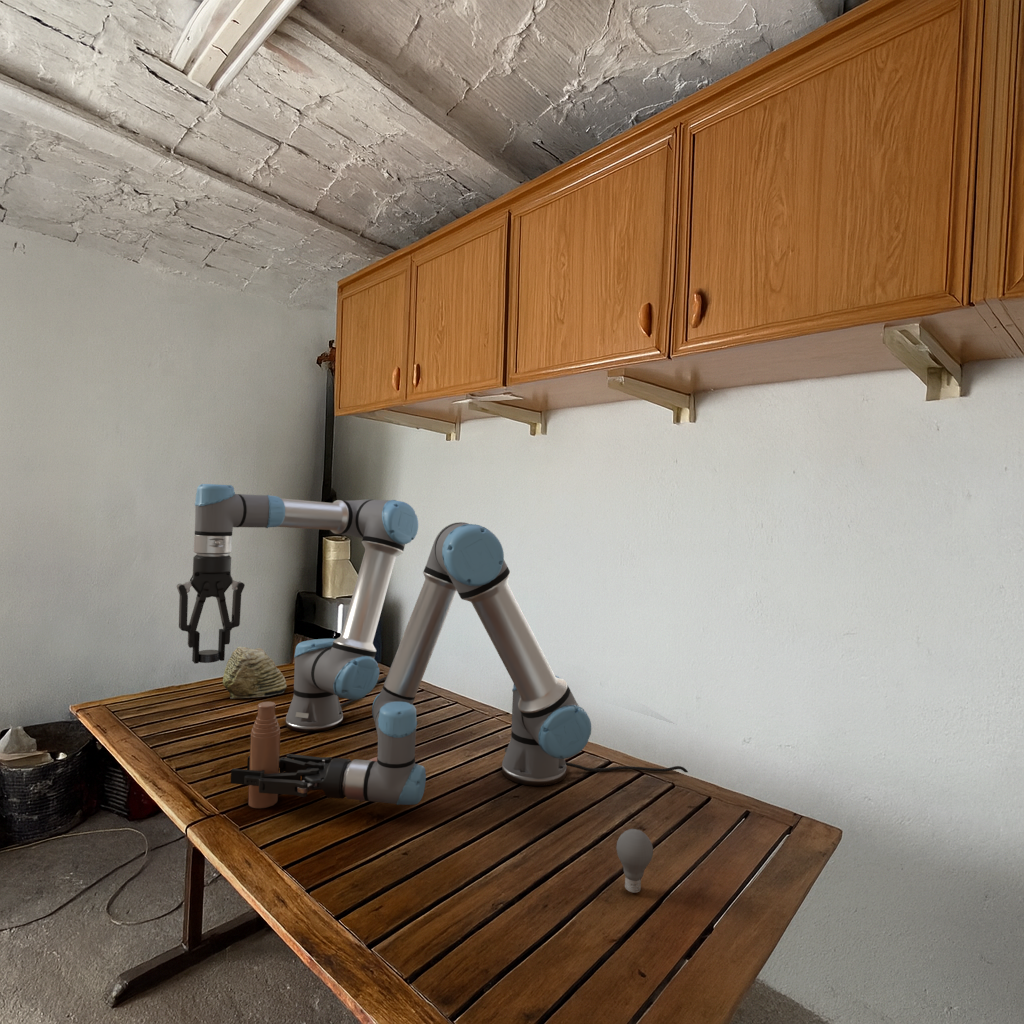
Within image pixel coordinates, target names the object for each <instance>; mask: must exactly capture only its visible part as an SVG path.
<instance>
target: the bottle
mask: <svg viewBox="0 0 1024 1024" xmlns="http://www.w3.org/2000/svg"><path fill="white" fill-rule="evenodd" d="M276 707H277V705H276V703H275V701H263V702H259V703H258V704H257V716H256V718H255V720H254V724H253V725H252V728H251V732H250V740H249V741H250V743H249V756H250V767H249V770H255V771H262V770H264V774H273V773H279V770H280V768H279V759H280V758H281V757H280V755H281V753H280V752H281V727H280V724H279V722H278V719H277V715H276ZM247 795H248V797H247V800H248V801H247V804H248V806H249V807H250V808H253V809H266V808H269V807H272V806H275V805H276V804H277V803H278V801H279V794H270V793H259V786H253V785H248V794H247Z"/></svg>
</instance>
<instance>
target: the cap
mask: <svg viewBox="0 0 1024 1024" xmlns="http://www.w3.org/2000/svg"><path fill="white" fill-rule="evenodd" d="M219 661H220V651H219V650H218V649H204V650H203V649H202V650H199V664H201V663H202V664H209V663H211V664H212V663H216V662H219Z"/></svg>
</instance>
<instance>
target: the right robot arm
mask: <svg viewBox="0 0 1024 1024" xmlns="http://www.w3.org/2000/svg"><path fill="white" fill-rule="evenodd" d="M504 553H505V552H504V548H503V545H502V543H501V541H500V539H499V538H498V537H497V536H496V534H495V533H493V531H491V530H489V528H487V527H485V526H482V525H479V524H476V523H475V524H473V523H468V522H461V521H460V522H453V523H450V524H448V525H446V526H445V527H443V528H442V529H441V530H440V531H439V532H438V534H437V535H436V537H435V539H434V541H433V544H432V547H431V549H430V552H429V556H428V558H427V561H426V564H425V566H424V570H423V572H422V574H423V576H424V578H425V579H424V581H423V584H422V587H421V590H419V591H420V592H419V594H418V597H417V599H416V602H415V604H414V607H413V610H412V612H411V613H410V617H409V620H408V622H407V625H406V627H405V630H404V631H403V634H402V638H401V639H400V642H399V645H398V647H397V650H396V653H395V655H394V657H393V660H392V661H391V662H392V663H391V665H390V667H389V670H388V673H387V675H386V677H387V678H386V679H385V680H384V682H383V685H382V688H381V690H380V692H379V693H378V694H377V695H376V697H375V698H374V700H373V702H372V707H371V715H372V719H373V720H374V724H375V729H376V735H377V756H376V757H377V761H369V760H370V759H358V758H357V759H356V758H355V759H350V758H341V757H334V758H332V757H331V756H322V757H321V756H312V755H303V754H293V753H288V754H286V756H282V757H279V773H273V774H264V770H262V771H255V770H249V767H250V755H248V756H247V764H246V765H247V766H246V769H245V768H244V769H242V768H231V770H230V784H234V785H242V786H243V785H244V786H249V785H253V786H259V793H270V794H278V795H286V796H287V795H288V796H297V797H300V798H306V797H308V792H309V791H321V790H322V791H323V792H324V795H325V797H327V798H328V799H339V800H344V799H345V798H346V800H353V801H359V802H360V803H363V802H372V803H383V804H391V805H396V806H400V805H401V806H412V805H413V806H415V805H418V804H419V803H420V802H421V801H422V799H423V796H424V793H425V788H426V781H427V774H426V767H425V766H423V765H421V764H418V763H416V756H415V755H416V741H417V740H416V738H417V727H418V720H417V707H416V706H415V705H414V702H415V698H416V696H417V693H418V691H419V688H420V685H421V683H422V681H423V678H424V675H425V674H426V671H427V668H428V665H429V662H430V661H431V658H432V655H433V652H434V650H435V648H436V645H437V643H438V640H439V637H440V635H441V632H442V630H443V627H444V625H445V622H446V620H447V617H448V615H449V612H450V610H451V607H452V605H453V602H454V599H455V597H456V595H457V594H458V596H459V597H460V599H461V600H463V601H465V602H466V601H467V602H470V603H471V604H472V607H473V609H474V610H475V612H476V614H477V616H478V618H479V620H480V622H481V624H482V625H483V628H484V629H485V631H486V633H487V635H488V637H489V639H490V641H491V643H492V645H493V647H494V648H495V650H496V652H497V654H498V656H499V659H500V660H501V662H502V664H503V666H504V667H505V670H506V671H507V674H508V675H509V677H510V679H511V681H512V683H513V687H512V704H511V706H512V707H511V727H510V728H511V729H510V730H511V732H510V740H509V742H508V745H507V747H504V756H503V759H502V761H501V762H502V763H501V772H502V775H503V776H504V777H505V778H507V779H508V780H510V781H512V782H514V783H517V784H521V785H525V786H532V787H543V786H551V785H555V784H557V783H560V782H562V781H564V779H565V778H566V776H567V767H571V768H576V769H580V770H583V771H586V772H592V773H593V772H595V773H598V772H599V773H601V772H611V771H621V770H632V771H644V772H645V771H646V772H658V773H660V772H661V773H667V772H671V771H675V770H681V771H682V772H684V773H689V771H688V769H686V768H685V767H684V766H681V765H675V766H671V767H666V768H659V767H645V766H633V765H632V766H631V765H627V766H626V765H622V766H620V765H619V766H610V767H602V768H601V767H600V768H599V767H598V768H592V767H586V766H583V765H581V764H575V763H572V762H568V761H566V760H567V759H569V758H573V757H574V756H576V755H578V754H579V753H580V752H582V751H583V749H584V748H585V747H587V744H588V742H589V740H590V737H591V736H592V735H591V734H592V721H591V719H590V716H589V715H588V712H587V711H586V710H585V709H584V708H583V707H581V706H580V705H579V703H578V702H577V701H576V698H575V696H574V695H573V693H572V691H571V688H570V686H569V684H568V683H567V681H566V680H565V679H563V678H561V676H559V675H555V673H554V671H553V669H552V666H551V665H550V663H549V660H548V659H547V656H546V655H545V652H544V650H543V649H542V647H541V645H540V643H539V641H538V639H537V637H536V635H535V633H534V631H533V630H532V627H531V626H530V624H529V622H528V620H527V618H526V616H525V614H524V612H523V611H522V608H521V606H520V604H519V601H518V600H517V599H516V596H515V594H514V592H513V591H512V588H511V586H510V585H509V579H510V576H511V571H510V569H509V567H508V564H507V563H506V561H505V554H504Z"/></svg>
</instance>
